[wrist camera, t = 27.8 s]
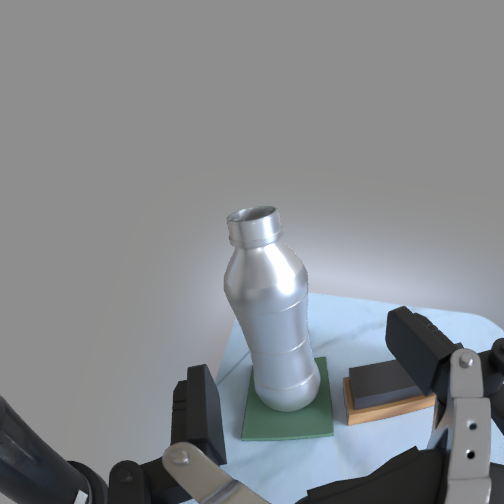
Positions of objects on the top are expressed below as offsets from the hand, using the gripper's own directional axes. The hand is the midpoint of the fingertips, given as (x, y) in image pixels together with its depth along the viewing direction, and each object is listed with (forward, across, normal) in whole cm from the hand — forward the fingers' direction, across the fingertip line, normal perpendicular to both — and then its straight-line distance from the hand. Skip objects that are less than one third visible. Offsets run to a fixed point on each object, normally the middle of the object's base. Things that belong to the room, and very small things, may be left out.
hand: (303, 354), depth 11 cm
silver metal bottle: (+11, 0, +17) cm, 20 cm away
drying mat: (+11, 0, +17) cm, 21 cm away
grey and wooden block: (+6, -12, +17) cm, 22 cm away
